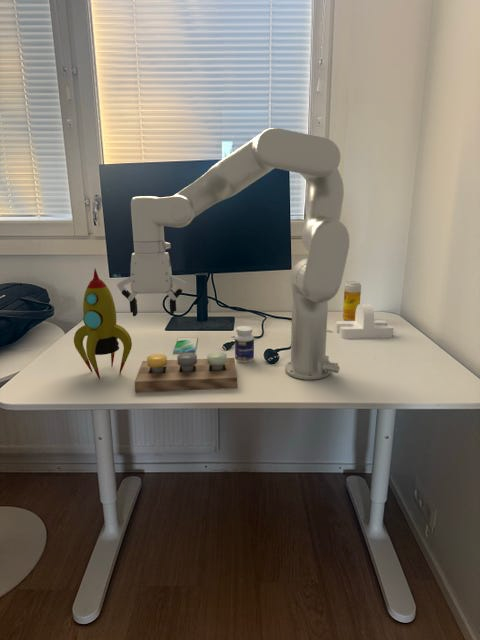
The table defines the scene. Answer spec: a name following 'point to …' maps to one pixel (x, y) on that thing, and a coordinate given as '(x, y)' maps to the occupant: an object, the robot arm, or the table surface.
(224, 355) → the button sage
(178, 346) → the smartphone
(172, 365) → the console
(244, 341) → the pill bottle
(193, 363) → the grey rounded lump
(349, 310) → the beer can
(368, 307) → the u-slot stand
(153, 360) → the button amber
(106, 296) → the toy rocket
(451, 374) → the table surface
